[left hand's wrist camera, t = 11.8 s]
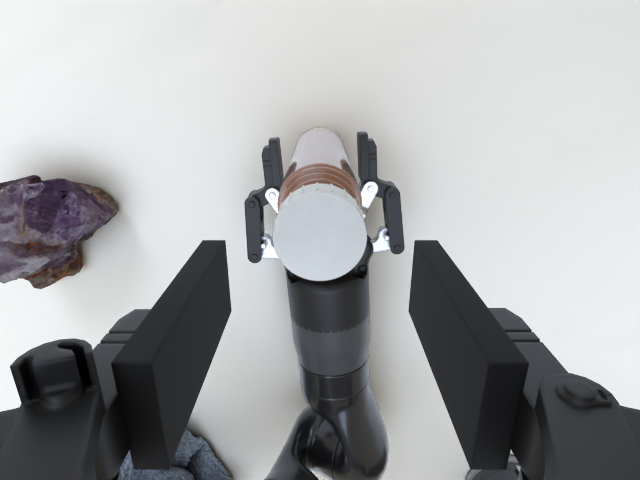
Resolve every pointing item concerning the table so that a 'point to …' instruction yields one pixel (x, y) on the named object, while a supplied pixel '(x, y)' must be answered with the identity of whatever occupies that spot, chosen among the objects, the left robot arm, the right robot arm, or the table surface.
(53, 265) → the rock
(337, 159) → the bottle
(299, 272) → the cap
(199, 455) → the koala plush
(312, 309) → the right robot arm
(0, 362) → the table surface
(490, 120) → the table surface
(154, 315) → the left robot arm
